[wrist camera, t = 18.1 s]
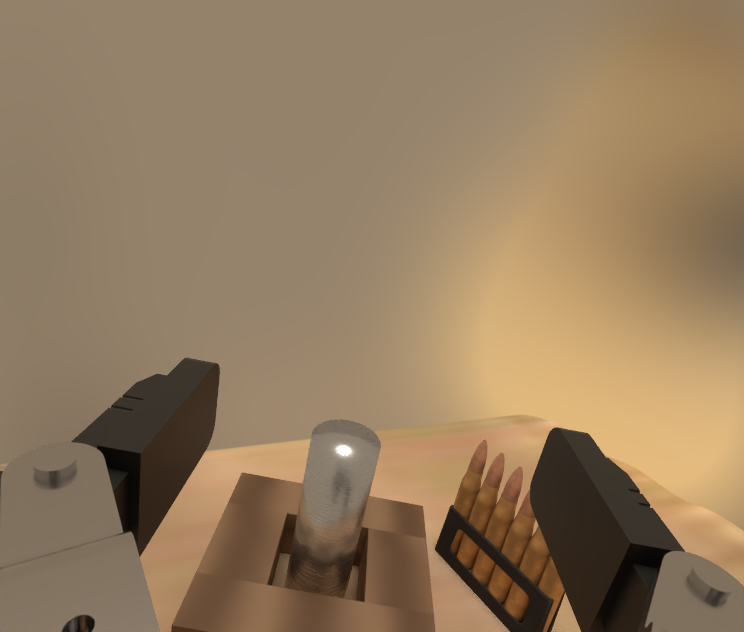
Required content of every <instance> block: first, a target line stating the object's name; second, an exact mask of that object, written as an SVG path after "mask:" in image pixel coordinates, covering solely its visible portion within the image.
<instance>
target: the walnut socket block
mask: <svg viewBox="0 0 744 632" xmlns="http://www.w3.org/2000/svg"><path fill="white" fill-rule="evenodd" d="M302 487H303V484H301V483H296V482H290V481H285V480H279V479H274V478H269V477H263V476H258V475H253V474H247V473H242V474H241V476H240V478H239V480H238V483H237V485H236V487H235V489H234V491H233V493H232V496H231V498H230V500H229V502H228V504H227V507H226V509H225V511H224V513H223V515H222V517H221V520H220V522H219V524H218V526H217V528H216V530H215V533H214V535H213V537H212V539H211V541H210V544H209V546H208V548H207V550H206V552H205V554H204V557H203V559H202V561H201V563H200V565H199V568H198V570H197V572H196V574H195V576H194V578H193V581H192V583H191V585H190V587H189V589H188V591H187V594H186V596H185V598H184V600H183V602H182V605H181V607H180V609H179V611H178V613H177V615H176V618H175V620H174V622H173V624H172V631H171V632H435V623H434V613H433V603H432V593H431V583H430V573H429V563H428V553H427V543H426V533H425V523H424V513H423V506H419V505H414V504H409V503H403V502H398V501H392V500H387V499H382V498H376V497H371V496H369V498H368V502H367V506H366V511H365V515H364V519H363V523H362V527H361V532H360V536H359V540H358V544H357V548H356V553H355V557H354V561H353V565H357V566H359V577H358V591H357V601H355V600H349V599H344V598H338V597H332V596H327V595H321V594H316V593H310V592H304V591H299V590H293V589H287V588H282V587H276V586H271V584H272V581H273V577H274V573H275V570H276V566H277V562H278V559H279V555H280V552H285V553H291V548H292V542H293V537H294V531H295V525H296V520H297V514H298V509H299V503H300V498H301V492H302Z"/></svg>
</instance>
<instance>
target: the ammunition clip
mask: <svg viewBox="0 0 744 632" xmlns="http://www.w3.org/2000/svg"><path fill="white" fill-rule="evenodd" d="M486 458H487V442H486V440H484V441H482V442H481V443H480V445H479V446H478V447H477V449H476V451H475V453H474V455H473V457H472V459H471V462H470V465H469V467H468V469H467V472H466V474H465V476H464V477H463V479H462V482H461V485H460V488H459V491H458V494H457V497H456V500H455V503H454V505H452V506H450V509H449V512H448V514H447V517H446V520H445V523H444V525H443V528H442V531H441V533H440V536H439V539H438V541H437V544H436V547H435V550H436V551H437V552H438V554H439V555H440V556H441V557H442V558H443V559H444V560H445V561H446V562H447V563H448V564H449V565H450V567H451V568H452V569H453V570H454V571H455V572H456V573H457V574H458V575H459V576H460V577H461V578H462V580H463V581H464V582H465V583H466V584H467V585H468V586H469V587H470V588H471V589H472V590H473V592H474V593H475V594H476V595H477V596H478V597H479V598H480V599H481V600H482V601H483V602H484V603H485V605H486V606H487V607H488V608H489V609H490V610H491V611H492V612H493V613H494V614H495V615H496V616H497V618H498V619H499V620H500V621H501V622H502V623H503V624H504V625H505V626H506V627H507V628H508V629H509V631H510V632H551V630H552V627H553V625H554V622H555V619H556V616H557V614H558V611H559V608H560V605H561V603H562V600H563V597H564V594H565V591H564V587H563V585H562V582H561V580H560V577H559V575H558V572H557V570H556V567H555V565H554V562H553V560H552V557H550V556H551V555H550V552H549V550H548V547H547V545H546V542H545V540H544V538H543V535H542V533H541V530H540V528H539V526H538V528H537V530H536V532H535V533H534V535H533V536H532V533H533V526H534V522H535V519H536V518H535V515H534V513H533V510H532V507H531V503H530V490H529V492H528V493H527V495H526V497H525V499H524V501H523V503H522V506H521V508H520V509H519V512H518V514H517V516H516V517H515V519H514V515H515V508H516V505H517V501H518V497H519V494H520V491H521V486H522V480H523V471H522V467H518V468H517V469H516V470H515V471H514V472H513V473H512V475H511V476H510V478H509V479H508V481H507V483H506V485H505V488H504V491H503V493H502V495H501V497H500V499H499V501H498V503H497V504H496V502H497V496H498V491H499V487H500V483H501V480H502V476H503V471H504V454H503V453H500V454H499V455H498V456H497V457H496V458H495V460H494V461H493V463H492V465H491V466H490V468H489V471H488V473H487V476H486V479H485V480H484V483H483V485H482V487H481V478H482V475H483V470H484V467H485V463H486ZM480 487H481V489H480ZM549 558H550V559H549ZM548 560H549V561H548ZM546 565H547V566H546Z"/></svg>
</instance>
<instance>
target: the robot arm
mask: <svg viewBox="0 0 744 632" xmlns="http://www.w3.org/2000/svg"><path fill="white" fill-rule="evenodd" d="M219 375H220V369H219V365H218V364H217V363H212V362H206V361H201V360H196V359H190V358H184V359H183V360H182V361H181V362H180V363H179V364H178V365H177V366H176V367H175V368H174V369H173V370H172V371H171V372H170V373H169V374H168V375H167V376H166V375H161V374H156V375H153V376H151V377H149V378H146V379H144V380H142V381H139V382H137V383H136V384H135V385H133V386H132V387H131V388H130V389H129V390H128V391H127V392H126V393H125V394H124V395H123V397H122V398H119V399H118V400H117V401H116V402H115V403H114V404H113V405H112V406H111V408H108V409H107V410H106V411H105V412H104V413H103V414H101V416H99V417H98V418H97V419H96V420H95V421H94V422H93V423H92V424H90V426H88V427H87V428H86V429H85V430H84V431H83V432H82V433H81V434H79V435H78V436H77V437H76V438H75V439H74V440H73V441H72V442H65V443H54V444H49V445H44V446H41V447H38V448H35V449H32V450H30V451H28V452H26V453H24V454H22V455H20V456H19V457H17V458H15V459H14V460H13V461H12V462H10V463H9V464H8V465H7V467H6V468H5V469H4V471H0V632H160V630H159V626H158V623H157V619H156V615H155V612H154V608H153V604H152V601H151V597H150V593H149V590H148V586H147V582H146V579H145V575H144V571H143V568H142V564H141V560H140V556H141V554H142V553H143V551H144V549H145V548H146V546H147V544H148V543H149V541H150V540H151V538H152V536H153V535H154V533H155V532H156V530H157V528H158V527H159V525H160V523H161V522H162V520H163V519H164V517H165V515H166V514H167V512H168V510H169V509H170V507H171V506H172V504H173V502H174V501H175V499H176V498H177V496H178V494H179V493H180V491H181V489H182V488H183V486H184V485H185V483H186V481H187V480H188V478H189V477H190V475H191V473H192V472H193V470H194V468H195V467H196V465H197V464H198V462H199V460H200V459H201V457H202V455H203V454H204V452H205V451H206V449H207V447H208V445H209V443H210V440H211V438H212V434H213V430H214V426H215V418H216V407H217V397H218V385H219ZM530 503H531V507H532V510H533V513H534V515H535V518H536V520H537V523H538V525H539V528H540V530H541V533H542V535H543V538H544V540H545V542H546V545H547V547H548V550H549V552H550V555H551V557H552V560H553V562H554V565H555V567H556V570H557V572H558V575H559V577H560V580H561V582H562V585H563V587H564V590H565V592H566V595H567V597H568V600H569V602H570V605H571V607H572V610H573V612H574V615H575V617H576V620H577V622H578V625H579V627H580V630H581V632H744V586H743V585H742V584H741V583H740V582H739V581H737V580H736V579H735V578H734V577H733V576H732V575H730V574H729V573H728V572H726V571H725V570H723V569H722V568H721V567H719V566H717V565H716V564H714V563H712V562H710V561H708V560H706V559H705V558H702V557H700V556H697V555H695V554H692V553H688V552H685V551H684V549H683V548H682V547H681V545H680V544H679V543H678V541H677V540H676V539H675V537H674V536H673V535H672V533H671V532H670V531H669V529H668V528H667V527H666V525H665V524H664V523H663V521H662V520H661V518H660V517H659V516H658V514H657V513H656V512H655V510H654V509H653V508H650V504H649V502H648V501H647V500H646V498H645V497H644V496H643V494H640V490H639V489H638V488H637V486H636V485H635V483H634V482H633V481H632V479H631V478H630V477H629V475H628V474H627V473H626V472H624V471H623V470H622V469H621V468H620V467H618V466H617V465H616V464H615V463H614V462H612V461H611V460H610V459H609V458H606V457H605V456H604V454H603V453H602V452H601V450H600V449H599V447H598V446H597V445H596V443H595V442H594V440H593V439H592V438H591V436H590V435H589V434H588V433H584V432H578V431H573V430H567V429H562V428H553V429H552V430H551V431H550V433H549V435H548V437H547V440H546V443H545V445H544V448H543V451H542V453H541V456H540V459H539V462H538V464H537V467H536V470H535V473H534V475H533V478H532V481H531V486H530Z"/></svg>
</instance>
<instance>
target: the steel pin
mask: <svg viewBox="0 0 744 632" xmlns="http://www.w3.org/2000/svg"><path fill="white" fill-rule="evenodd" d="M380 447H381V444H380V440H379V438H378V437H377V435H376V434H375V433H374V432H373V431H372V430H370V429H369V428H367V427H366V426H364V425H361V424H359V423H356V422H353V421H348V420H330V421H326V422H323V423H321V424H319V425H318V426H316V427H315V429H314V430H313V432H312V436H311V442H310V448H309V453H308V459H307V464H306V470H305V475H304V481H303V487H302V492H301V498H300V503H299V509H298V514H297V520H296V525H295V531H294V537H293V542H292V548H291V553H290V559H289V564H288V570H287V575H286V581H285V587H284V588H287V589H293V590H299V591H304V592H310V593H316V594H321V595H327V596H332V597H338V598H344V599H345V595H346V590H347V586H348V582H349V578H350V574H351V569H352V565H353V561H354V557H355V553H356V548H357V544H358V540H359V536H360V532H361V527H362V523H363V519H364V515H365V511H366V506H367V502H368V498H369V494H370V490H371V485H372V481H373V477H374V473H375V469H376V464H377V460H378V456H379V452H380Z"/></svg>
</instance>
